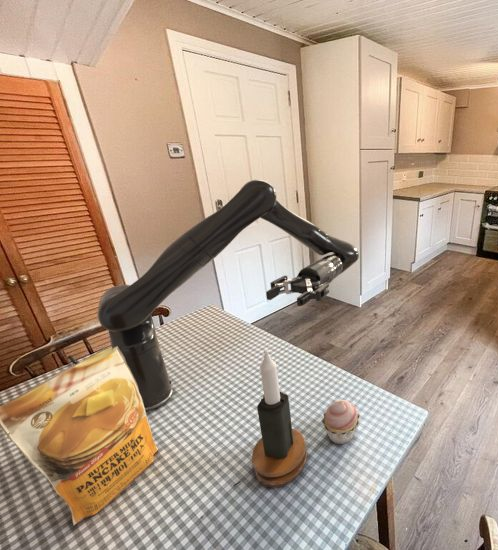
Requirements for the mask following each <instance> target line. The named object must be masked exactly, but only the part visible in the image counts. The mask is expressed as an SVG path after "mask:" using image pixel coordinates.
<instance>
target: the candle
mask: <svg viewBox="0 0 498 550" xmlns="http://www.w3.org/2000/svg"><path fill="white" fill-rule="evenodd" d="M263 354H264V355H263V360H262V362H261V364H260V367H259V369H260V377H261V383H262V388H263V389H262V390H263V396H262V398H261V399H260V400H259V402H258V404H257V406H256V410H257V416H258V421H259V429H260V434H261V437H262V440H263V446H264V452H265V455H266V456H267V457H272V458H277V459H284V458H286V457H287V455H288V454H287V453H288V451H289V449H290V447H291V445H292V444H293V433H292V428H293V425H292V417H291V408H290V400H289V399H290V398H289V395H288V393H287V394H286V393H283V392H282V391H280V384H279V376H278V369H277V363H276V361H274V360H273V359H272V357H271V356H270V354H269V350H268V349H266V350H264V351H263Z"/></svg>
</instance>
